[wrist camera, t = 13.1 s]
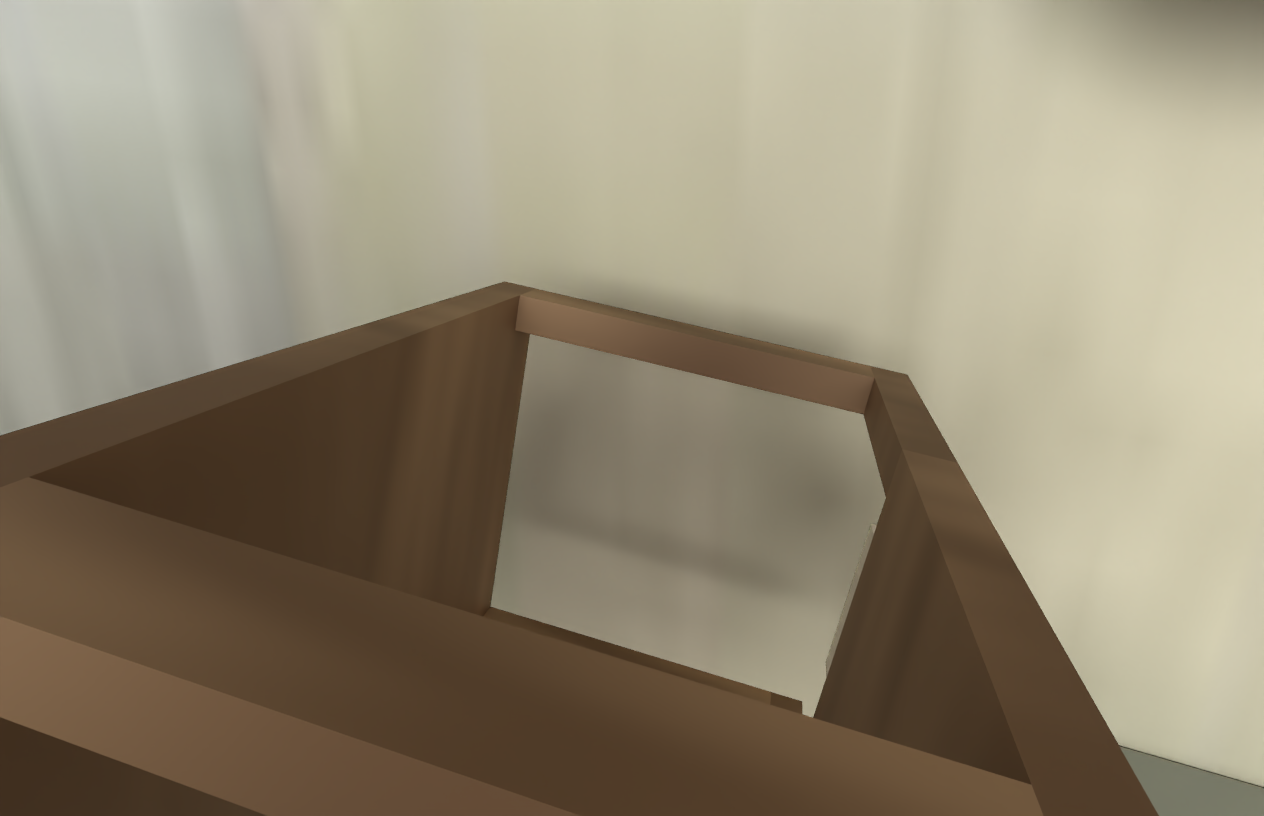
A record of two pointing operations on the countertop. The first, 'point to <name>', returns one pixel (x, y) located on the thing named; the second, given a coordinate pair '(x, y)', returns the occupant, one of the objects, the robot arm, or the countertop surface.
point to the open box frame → (482, 608)
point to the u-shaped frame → (1193, 789)
